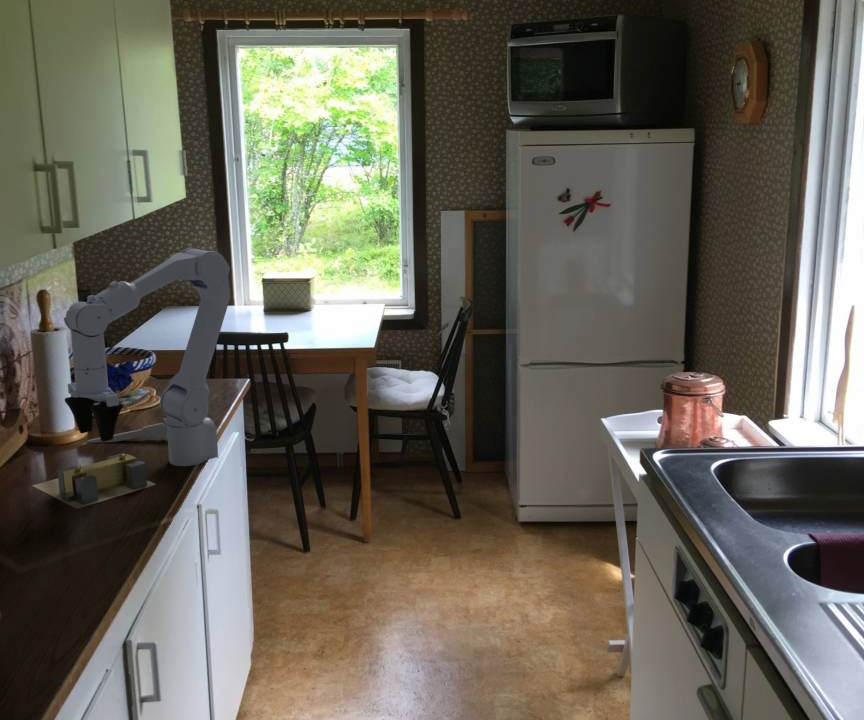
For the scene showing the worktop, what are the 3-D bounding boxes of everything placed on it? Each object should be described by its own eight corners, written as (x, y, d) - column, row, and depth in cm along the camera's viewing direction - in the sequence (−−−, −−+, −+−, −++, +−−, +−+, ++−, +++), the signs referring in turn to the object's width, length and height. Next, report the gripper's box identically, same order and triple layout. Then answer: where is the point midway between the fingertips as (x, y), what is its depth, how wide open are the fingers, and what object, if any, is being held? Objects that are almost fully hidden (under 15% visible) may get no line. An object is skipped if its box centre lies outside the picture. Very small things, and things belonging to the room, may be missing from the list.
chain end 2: (128, 473, 178) (127, 451, 177) (152, 483, 173) (151, 461, 172) (109, 479, 175) (107, 457, 174) (133, 489, 170) (131, 467, 169)
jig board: (109, 467, 184) (109, 464, 183) (156, 488, 173) (156, 484, 173) (32, 489, 172) (31, 485, 172) (77, 512, 161) (77, 508, 161)
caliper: (178, 443, 200) (176, 416, 199) (177, 444, 199) (175, 417, 198) (82, 446, 198) (79, 418, 196) (81, 447, 197) (78, 420, 195)
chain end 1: (74, 489, 170) (72, 466, 169) (98, 500, 165) (96, 477, 164) (53, 495, 167) (51, 472, 166) (76, 507, 162) (74, 483, 160)
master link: (129, 473, 175) (127, 450, 174) (137, 477, 173) (136, 453, 172) (65, 492, 166) (62, 467, 165) (73, 496, 164) (71, 471, 163)
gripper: (50, 364, 171) (56, 433, 174) (91, 376, 162) (97, 449, 165) (85, 357, 176) (90, 424, 179) (126, 369, 167) (131, 439, 170)
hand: (96, 435), depth 172 cm, fingers open, 7 cm apart
